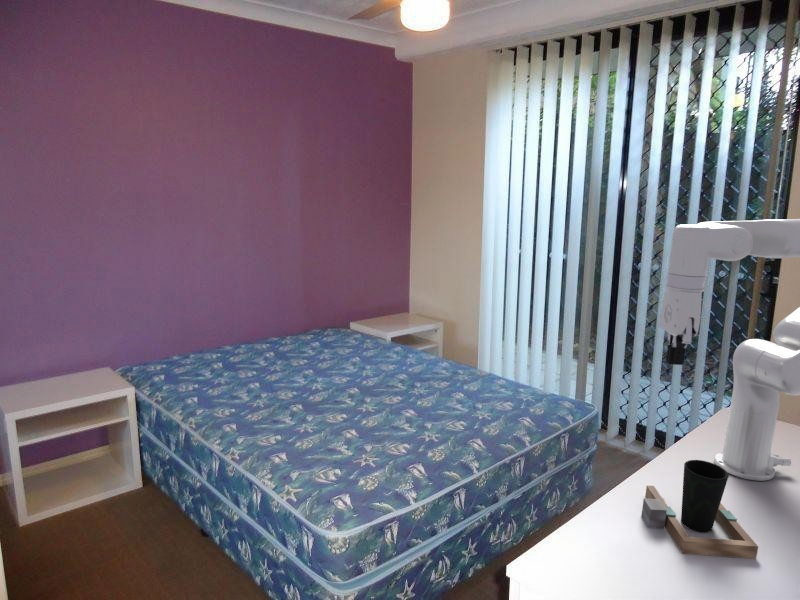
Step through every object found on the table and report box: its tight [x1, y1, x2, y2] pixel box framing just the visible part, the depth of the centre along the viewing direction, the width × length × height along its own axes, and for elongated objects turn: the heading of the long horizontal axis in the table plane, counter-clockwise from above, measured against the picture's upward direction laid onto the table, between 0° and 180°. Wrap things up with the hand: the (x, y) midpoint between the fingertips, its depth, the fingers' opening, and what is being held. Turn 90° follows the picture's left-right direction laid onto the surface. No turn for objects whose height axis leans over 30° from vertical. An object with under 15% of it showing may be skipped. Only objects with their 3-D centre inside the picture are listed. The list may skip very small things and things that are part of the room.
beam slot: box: [641, 485, 759, 560], centre depth 114 cm, size 17×20×4 cm
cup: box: [680, 459, 729, 534], centre depth 113 cm, size 8×8×12 cm
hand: (674, 363), depth 127 cm, fingers closed
